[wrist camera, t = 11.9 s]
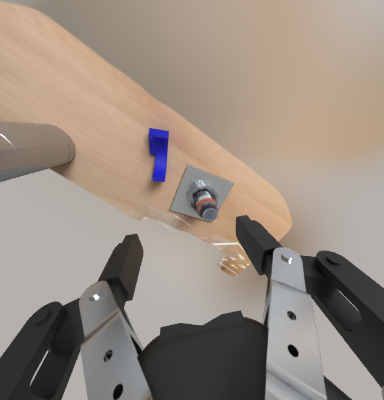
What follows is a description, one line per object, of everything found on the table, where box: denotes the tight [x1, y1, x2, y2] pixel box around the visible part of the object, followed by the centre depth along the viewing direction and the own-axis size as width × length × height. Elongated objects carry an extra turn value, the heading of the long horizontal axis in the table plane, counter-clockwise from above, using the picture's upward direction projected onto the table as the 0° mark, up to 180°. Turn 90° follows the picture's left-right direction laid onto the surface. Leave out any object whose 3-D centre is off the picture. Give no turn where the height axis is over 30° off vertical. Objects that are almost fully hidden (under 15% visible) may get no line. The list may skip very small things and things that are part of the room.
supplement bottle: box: [193, 189, 218, 222], centre depth 40 cm, size 6×6×11 cm
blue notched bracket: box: [149, 128, 169, 182], centre depth 36 cm, size 12×4×6 cm, turn 172°
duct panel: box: [170, 164, 234, 222], centre depth 44 cm, size 16×16×4 cm
